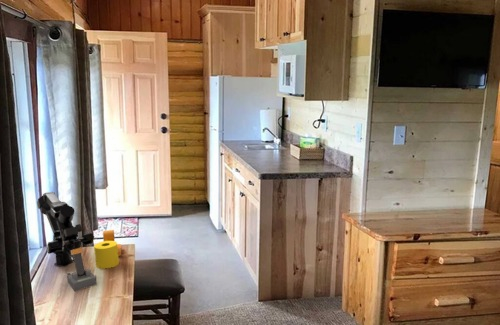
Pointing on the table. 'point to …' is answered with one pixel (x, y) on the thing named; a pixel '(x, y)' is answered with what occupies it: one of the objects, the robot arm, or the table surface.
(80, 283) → the box
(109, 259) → the tape roll
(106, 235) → the bracket
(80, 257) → the breaker lever
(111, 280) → the table surface
